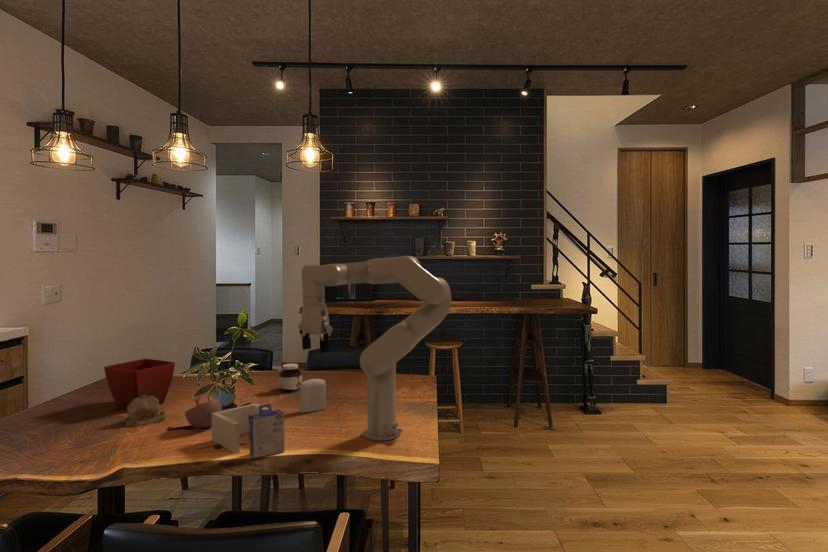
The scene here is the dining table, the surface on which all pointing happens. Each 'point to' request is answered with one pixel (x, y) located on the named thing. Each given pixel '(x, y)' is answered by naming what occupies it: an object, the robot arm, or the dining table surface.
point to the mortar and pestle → (203, 412)
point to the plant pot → (139, 380)
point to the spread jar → (290, 378)
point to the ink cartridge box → (266, 432)
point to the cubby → (232, 425)
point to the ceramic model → (144, 411)
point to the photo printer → (312, 395)
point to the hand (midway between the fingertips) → (315, 350)
